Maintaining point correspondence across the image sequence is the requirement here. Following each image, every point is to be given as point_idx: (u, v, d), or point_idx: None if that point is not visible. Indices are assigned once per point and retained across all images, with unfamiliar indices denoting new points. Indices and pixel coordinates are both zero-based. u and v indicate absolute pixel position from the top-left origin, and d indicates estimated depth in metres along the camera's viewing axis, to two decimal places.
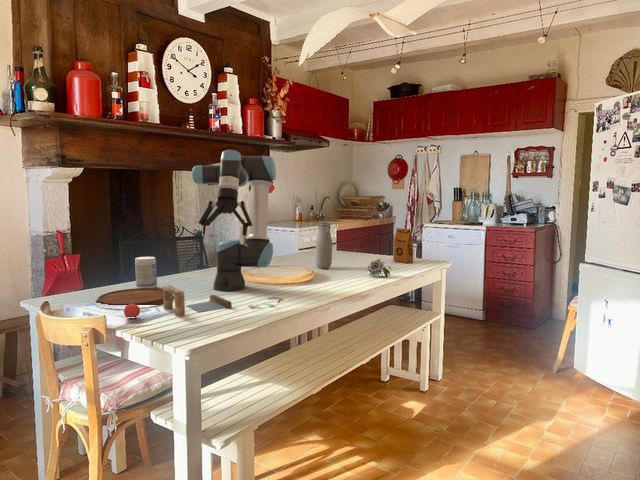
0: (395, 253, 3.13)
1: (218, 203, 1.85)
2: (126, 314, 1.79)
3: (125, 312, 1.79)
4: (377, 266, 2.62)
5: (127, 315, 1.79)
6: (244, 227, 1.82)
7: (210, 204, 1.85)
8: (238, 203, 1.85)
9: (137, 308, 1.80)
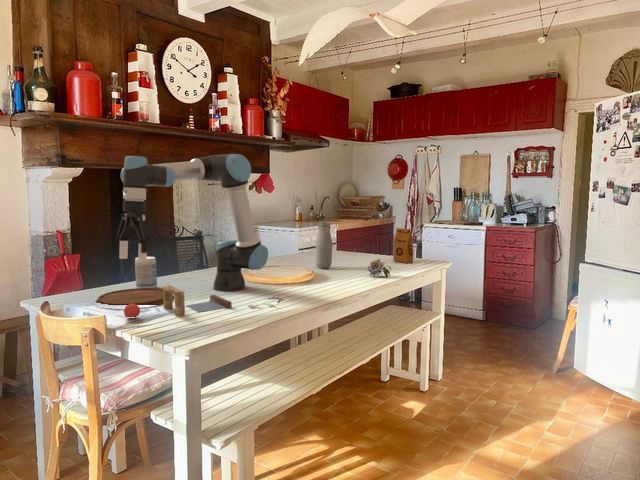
0: (395, 253, 3.13)
1: (126, 216, 1.73)
2: (126, 314, 1.79)
3: (125, 312, 1.79)
4: (377, 266, 2.62)
5: (127, 315, 1.79)
6: (142, 244, 1.66)
7: (122, 217, 1.75)
8: (139, 216, 1.68)
9: (137, 308, 1.80)
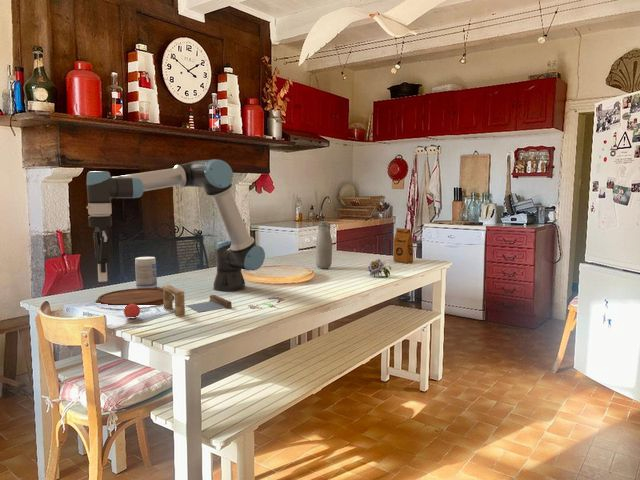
0: (395, 253, 3.13)
1: (95, 231, 1.74)
2: (126, 314, 1.79)
3: (125, 312, 1.79)
4: (377, 266, 2.62)
5: (127, 315, 1.79)
6: None
7: (93, 237, 1.75)
8: (102, 235, 1.68)
9: (137, 308, 1.80)
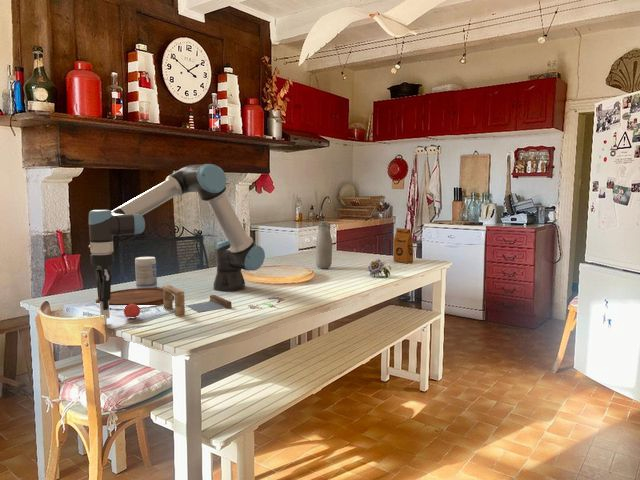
0: (395, 253, 3.13)
1: (97, 268, 1.75)
2: (126, 314, 1.79)
3: (125, 312, 1.79)
4: (377, 266, 2.62)
5: (127, 315, 1.79)
6: (102, 301, 1.74)
7: (96, 274, 1.77)
8: (104, 273, 1.70)
9: (137, 308, 1.80)
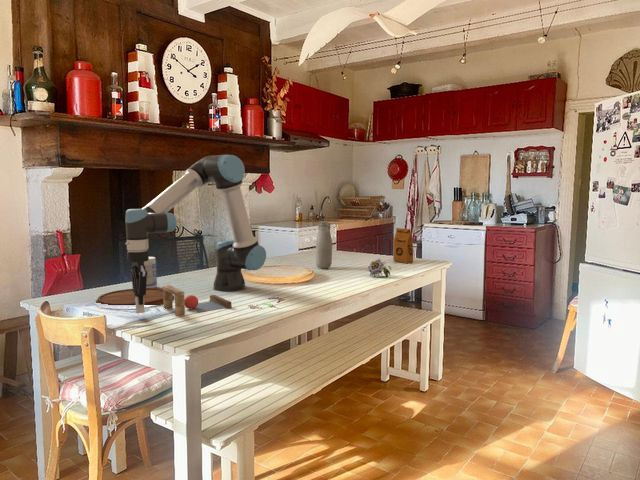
0: (395, 253, 3.13)
1: (132, 265, 1.83)
2: (191, 296, 1.94)
3: (192, 296, 1.95)
4: (377, 266, 2.62)
5: (190, 297, 1.94)
6: (138, 296, 1.82)
7: (131, 270, 1.85)
8: (140, 269, 1.78)
9: (196, 306, 1.95)
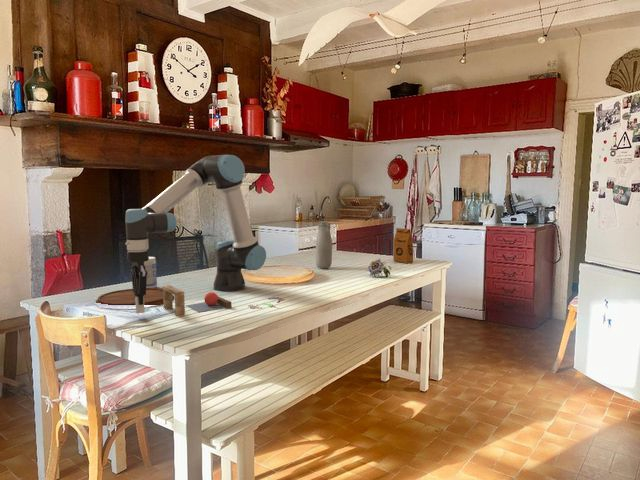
0: (395, 253, 3.13)
1: (132, 265, 1.83)
2: None
3: (211, 305, 2.00)
4: (377, 266, 2.62)
5: (214, 304, 2.00)
6: (138, 296, 1.82)
7: (131, 270, 1.85)
8: (140, 269, 1.78)
9: (211, 296, 1.99)
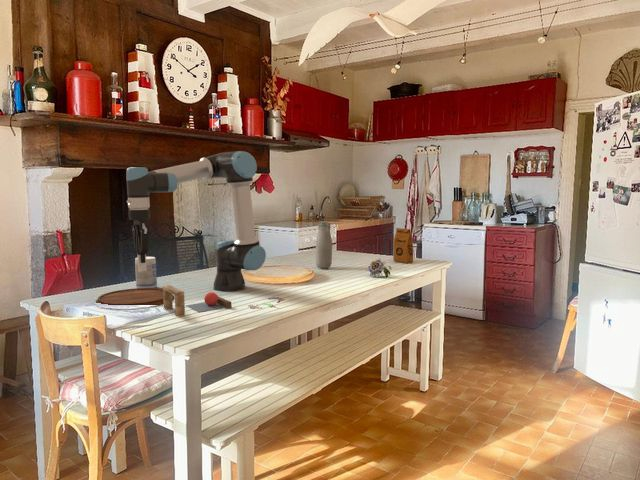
0: (395, 253, 3.13)
1: (134, 224, 1.84)
2: None
3: (211, 305, 2.00)
4: (377, 266, 2.62)
5: (214, 304, 2.00)
6: None
7: (132, 229, 1.86)
8: (142, 227, 1.79)
9: (211, 296, 1.99)
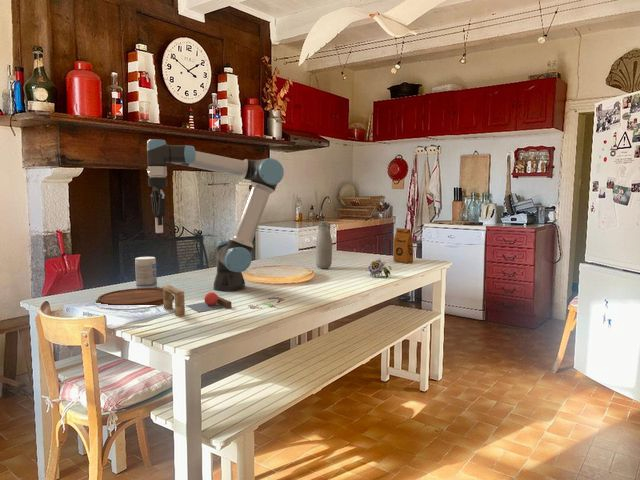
0: (395, 253, 3.13)
1: (152, 190, 2.07)
2: None
3: (211, 305, 2.00)
4: (377, 266, 2.62)
5: (214, 304, 2.00)
6: None
7: (151, 196, 2.08)
8: (160, 192, 2.01)
9: (211, 296, 1.99)
